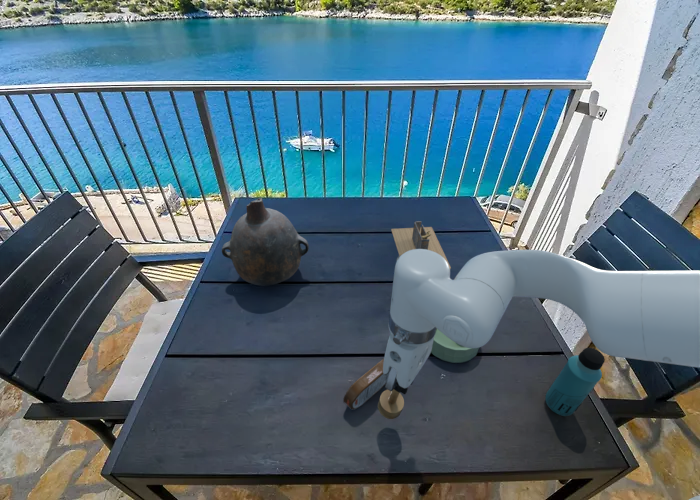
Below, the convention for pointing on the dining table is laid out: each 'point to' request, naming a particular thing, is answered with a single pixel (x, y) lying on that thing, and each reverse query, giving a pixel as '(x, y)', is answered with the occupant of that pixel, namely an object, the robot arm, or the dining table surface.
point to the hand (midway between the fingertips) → (401, 384)
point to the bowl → (451, 349)
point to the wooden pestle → (390, 404)
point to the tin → (366, 386)
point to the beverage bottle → (575, 382)
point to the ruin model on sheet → (417, 239)
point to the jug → (264, 246)
